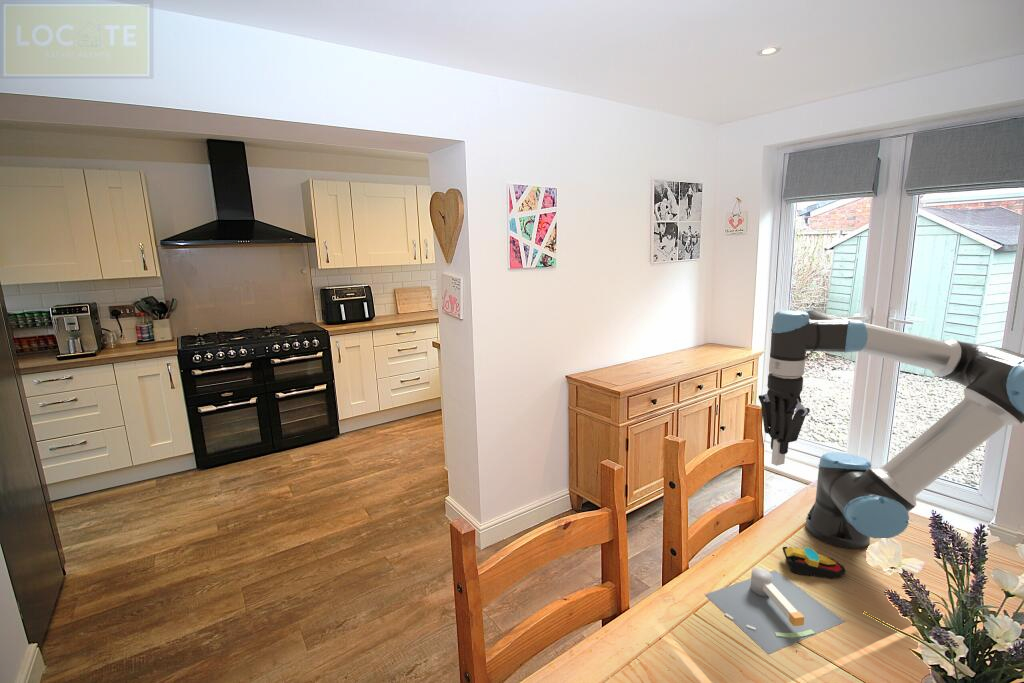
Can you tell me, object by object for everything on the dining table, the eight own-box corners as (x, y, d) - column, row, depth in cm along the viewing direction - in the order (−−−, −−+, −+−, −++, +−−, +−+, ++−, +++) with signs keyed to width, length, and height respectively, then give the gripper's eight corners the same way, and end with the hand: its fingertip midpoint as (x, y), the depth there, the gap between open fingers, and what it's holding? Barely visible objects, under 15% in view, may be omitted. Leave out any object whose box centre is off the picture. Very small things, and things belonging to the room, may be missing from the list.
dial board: (774, 574, 122) (775, 569, 122) (844, 626, 106) (845, 620, 105) (703, 599, 115) (703, 594, 114) (766, 659, 98) (766, 653, 98)
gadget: (844, 591, 117) (851, 572, 116) (784, 574, 121) (790, 555, 119) (836, 573, 123) (842, 555, 122) (779, 558, 127) (784, 539, 125)
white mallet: (746, 583, 117) (747, 569, 116) (763, 581, 117) (764, 567, 117) (788, 633, 102) (790, 616, 102) (807, 630, 103) (809, 614, 102)
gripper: (752, 369, 123) (746, 455, 128) (798, 383, 111) (789, 477, 116) (774, 366, 126) (767, 450, 131) (821, 379, 114) (812, 471, 119)
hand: (777, 463), depth 124 cm, fingers closed
